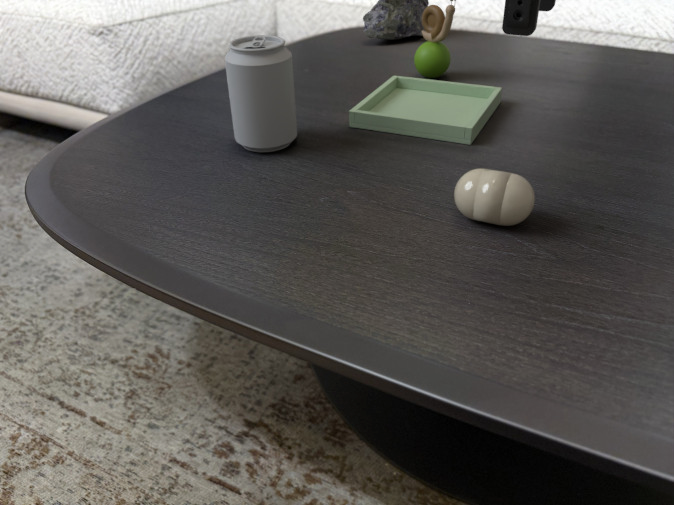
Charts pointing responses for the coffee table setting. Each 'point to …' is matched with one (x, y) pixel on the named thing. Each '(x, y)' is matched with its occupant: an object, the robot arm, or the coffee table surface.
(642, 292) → the coffee table surface
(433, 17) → the snail figurine
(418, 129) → the tray
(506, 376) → the coffee table surface
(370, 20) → the mineral rock
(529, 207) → the cream lobed oval
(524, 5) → the robot arm
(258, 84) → the can
